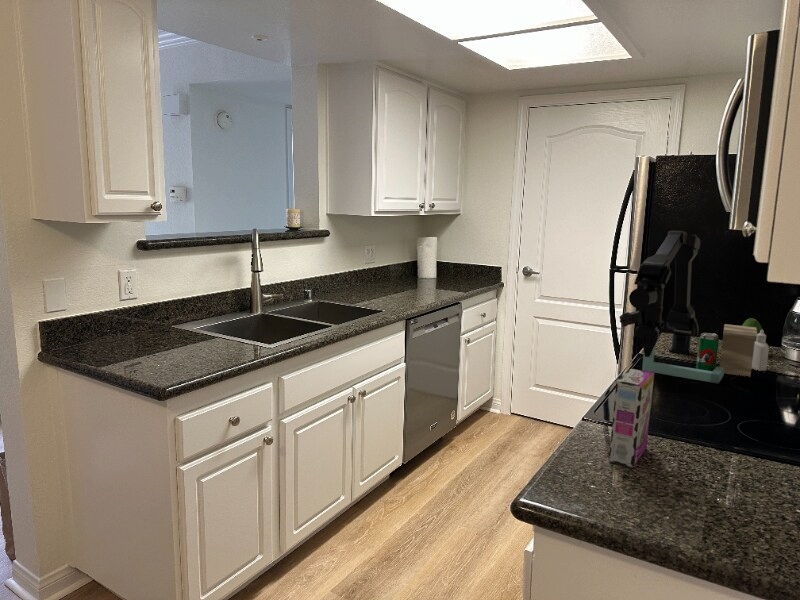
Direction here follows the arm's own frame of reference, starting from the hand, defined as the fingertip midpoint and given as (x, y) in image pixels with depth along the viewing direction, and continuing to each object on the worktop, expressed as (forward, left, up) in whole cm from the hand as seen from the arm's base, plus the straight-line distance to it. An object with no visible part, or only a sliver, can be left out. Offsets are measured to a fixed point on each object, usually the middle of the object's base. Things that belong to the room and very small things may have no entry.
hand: (647, 355), depth 173 cm
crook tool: (-2, +10, -4) cm, 11 cm away
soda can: (-5, +15, -5) cm, 17 cm away
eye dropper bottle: (-20, +29, -5) cm, 35 cm away
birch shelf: (-6, +23, -5) cm, 24 cm away
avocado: (-40, +27, -5) cm, 48 cm away
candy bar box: (+65, +5, -5) cm, 66 cm away
